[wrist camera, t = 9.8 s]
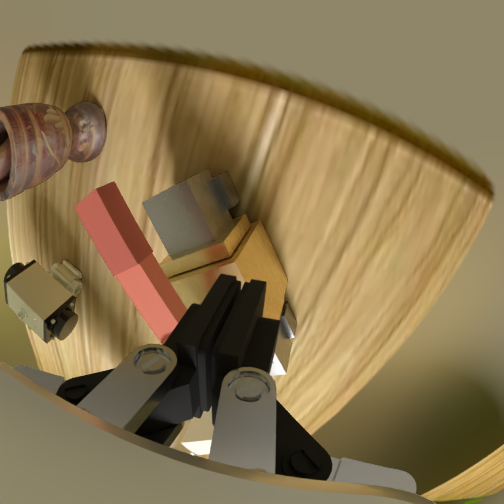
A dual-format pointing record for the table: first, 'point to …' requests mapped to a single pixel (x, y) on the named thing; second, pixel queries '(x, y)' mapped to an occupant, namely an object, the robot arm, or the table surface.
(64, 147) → the mortar and pestle
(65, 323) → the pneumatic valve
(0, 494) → the robot arm
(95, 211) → the lever
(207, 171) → the valve pipe
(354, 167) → the table surface
